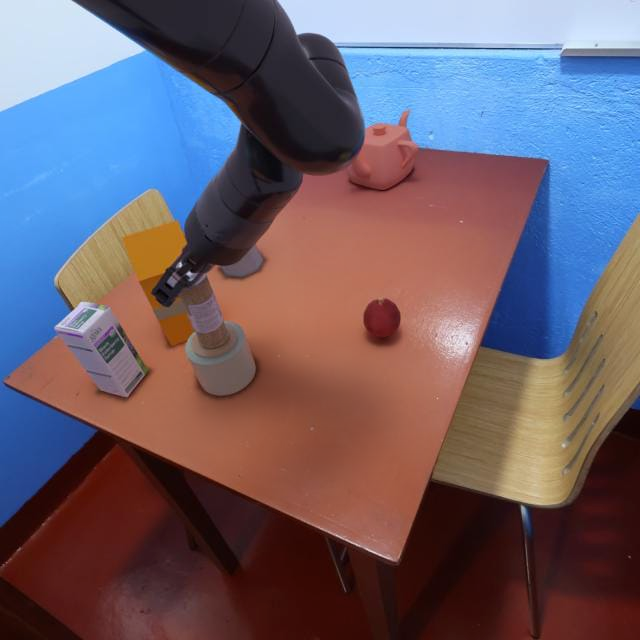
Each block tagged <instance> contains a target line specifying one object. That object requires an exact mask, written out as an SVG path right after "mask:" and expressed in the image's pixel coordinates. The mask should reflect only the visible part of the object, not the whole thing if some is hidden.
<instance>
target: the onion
mask: <svg viewBox="0 0 640 640" xmlns="http://www.w3.org/2000/svg"><path fill="white" fill-rule="evenodd" d="M362 317H363V318H362V319H363V320H362V321H363V325H364V327H365V329H366V330H367V332H368V333H369V334H371V335H373V336H376V337H378V338H379V337H382V338H385V337H388V336H391V335H393V334H394V333H396V332H397V330H398V329H399V328H400V325H401V320H402V319H401V317H402V315H401V311H400V309H399V307H398V306H397V304H396V303H395V302H394V301H392V300H391V299H389V298H384V297H377V298H376V299H373V300H372V301H370V302H369V303H368V304H367V305H366V307H365V309H364V311H363V316H362Z"/></svg>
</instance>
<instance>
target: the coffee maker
mask: <svg viewBox="0 0 640 640" xmlns="http://www.w3.org/2000/svg"><path fill="white" fill-rule="evenodd" d="M263 263H264V258H263V257H262V255H261V252H260V250H259V248H258V246H257V243H256V244H255V245H254V246H253V247H252V248H251V249H250V250H249V251H248V253H247V254H246V255H245V256H244V257H243V258H242V259H241V260H240V261H239V262H237V263H235V264H233V265H229V266H220V270H221V271H222V272H223V274H224V276H226V277H227V278H237V279H239V278H240V279H243V278H245V277H247V276H250V275H252V274H254V273H257V272H259V270H260V268H261V267H262V265H263Z"/></svg>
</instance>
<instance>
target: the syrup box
mask: <svg viewBox="0 0 640 640" xmlns="http://www.w3.org/2000/svg"><path fill="white" fill-rule="evenodd" d="M53 328H54V331H55V332H56V333H57V335H58V336H59V337H60V339H61V340H62V341H63V343H64V344H65V345H66V347H67V348H68V350H70V352H71V353H72V355H73V356H74V357H75V359H76V360H77V361H78V362H79V364H80V365H81V367H82V368H83V370H84V371H85V372H86V373H87V375H88V376H89V377H90V379H91V380H92V381H93V383H94V384H95V385H96V387H97V388H98V389H99V391H101V392H105V393H108V394H112V395H115V396H119V397H123V398H129V397H130V395H131V393H132V392H133V391H134V389H135V388H136V387H137V386H138V385H139V383H140V382H141V381H142V380H143V378H144V377H145V376H146V375H147V374H148V372H149V369H148V367H147V366H146V365H145V363H144V361H143V360H142V358H141V356H140V355H139V353H138V351H137V349H136V348H135V346H134V345H133V343H132V341H131V340H130V338H129V336H128V335H127V333H126V332H125V330H124V328H123V326H122V325H121V323H120V322H119V320H118V318H117V317H116V315H115V313H114V312H113V310H112V309H111V307H110V306H108V305H104V304H99V303H94V302H88V301H80V302H79V303H78V304H77V306H76V307H75V308H73V310H72V311H70V312H69V313H68V314H67V315H66V316H64V318H63V319H62V320H61V321H60V322H58V323H57V324H56V325H55V326H54V327H53Z"/></svg>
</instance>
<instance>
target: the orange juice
mask: <svg viewBox="0 0 640 640" xmlns="http://www.w3.org/2000/svg"><path fill="white" fill-rule="evenodd" d="M121 240H122V242H123V245H124V248H125V250H126V253H127V255H128V258H129V260H130V263H131V265H132V268H133V270H134V273H135V275H136V278H137V282H138V283H139V285H140V287H141V289H142V291H143V293H144V295H145V297H146V299H147V301H148V303H149V305H150V307H151V309H152V312H153V313H154V315H155V318H156V319H157V321H158V322H159V324H160V327H161V328H162V331H163V332H164V334H165V336H166V338H167V341H168V342H169V345H170V346H171V347H174V346H176V345H179V344H181V343H185V342H187V341H188V339H189V337H190V336H191V335H192V334H193V333H194V332H195V330H194V328H193V326H192V324H191V322H190V319H189V317H188V315H187V312H186V310H185V307H184V304H183V302H182V300H181V297H179V298H176V300H175V301H174V302H173V304H172V305H171V306H170V307H166V306H165V307H163V306H162V305H161V304H160V303H159V302H158V301H156V300H155V299H156V297H155V295H154V296H153V295H152V294H151V292H152V289H153V288H154V287H155V286H156V284H157V283H158V282H159V280H160V279H161V277H162V276H163V274H164V273H165V270H166V269H167V268H168V267H170V266H171V265H172V264H173V262H174V261H175V260H176V259H177V258H178V257H179V256H180V254H181V253H182V249H183V247H184V246H185V245H186V244H187V241H186V238H185V234H184V230H183V229H182V226H181V224H180V221H179V220H178V219H177V220H174V221H170V222H168V223H164V224H161V225H157V226H154V227H151V228H148V229H145V230H141V231H137V232H134V233H132V234H128V235H125V236H122V237H121Z"/></svg>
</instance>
